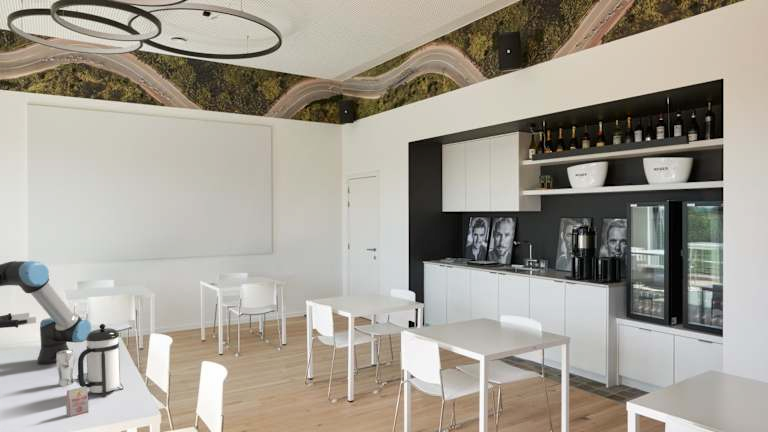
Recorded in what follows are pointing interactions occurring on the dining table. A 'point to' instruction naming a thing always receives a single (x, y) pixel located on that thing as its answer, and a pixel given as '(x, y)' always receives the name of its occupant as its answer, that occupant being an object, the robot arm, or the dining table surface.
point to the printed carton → (77, 401)
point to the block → (85, 377)
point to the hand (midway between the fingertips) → (32, 317)
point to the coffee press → (101, 361)
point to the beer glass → (65, 367)
